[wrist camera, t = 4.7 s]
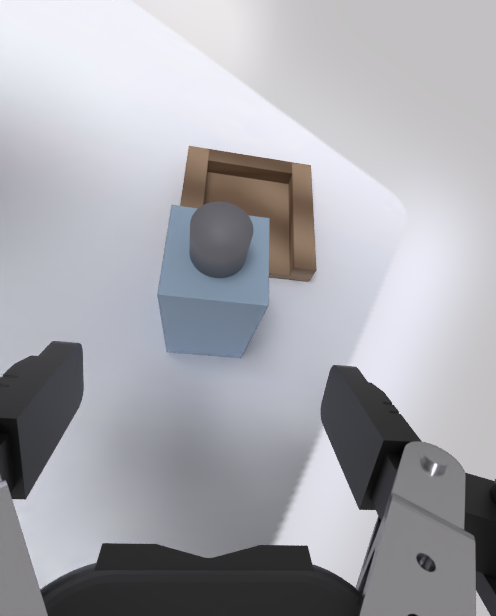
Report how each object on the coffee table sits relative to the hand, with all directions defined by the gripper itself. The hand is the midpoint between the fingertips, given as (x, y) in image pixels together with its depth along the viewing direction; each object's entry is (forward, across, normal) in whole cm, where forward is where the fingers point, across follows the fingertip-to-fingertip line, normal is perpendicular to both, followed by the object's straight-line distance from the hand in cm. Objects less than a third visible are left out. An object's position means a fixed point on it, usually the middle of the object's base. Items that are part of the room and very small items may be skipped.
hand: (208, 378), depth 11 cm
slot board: (+18, -2, -3) cm, 19 cm away
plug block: (+12, 0, +3) cm, 13 cm away
